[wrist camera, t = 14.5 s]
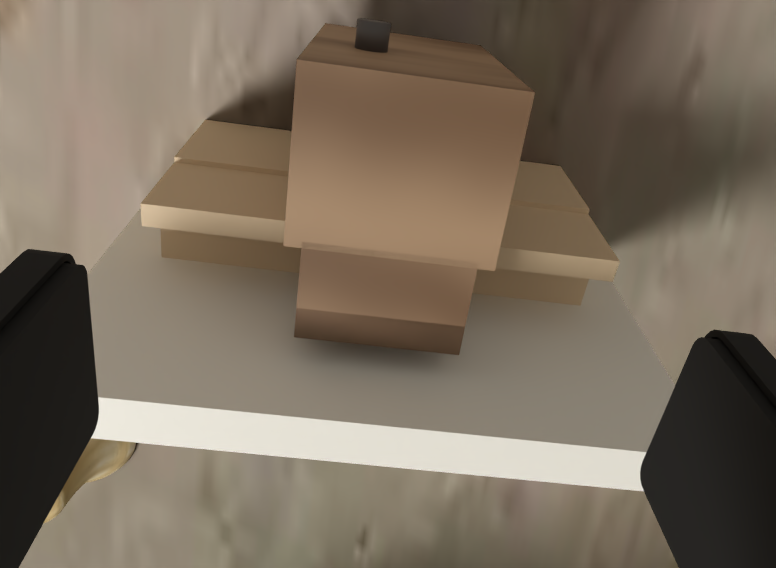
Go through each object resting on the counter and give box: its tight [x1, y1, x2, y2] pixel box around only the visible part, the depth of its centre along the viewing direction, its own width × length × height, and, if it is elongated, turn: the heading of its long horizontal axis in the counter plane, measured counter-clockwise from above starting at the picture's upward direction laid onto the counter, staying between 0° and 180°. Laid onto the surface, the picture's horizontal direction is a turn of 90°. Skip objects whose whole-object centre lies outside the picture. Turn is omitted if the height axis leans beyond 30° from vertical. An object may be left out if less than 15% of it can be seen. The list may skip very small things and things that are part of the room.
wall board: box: [87, 120, 675, 491], centre depth 24 cm, size 5×20×15 cm, turn 82°
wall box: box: [283, 19, 535, 355], centre depth 23 cm, size 9×6×10 cm
